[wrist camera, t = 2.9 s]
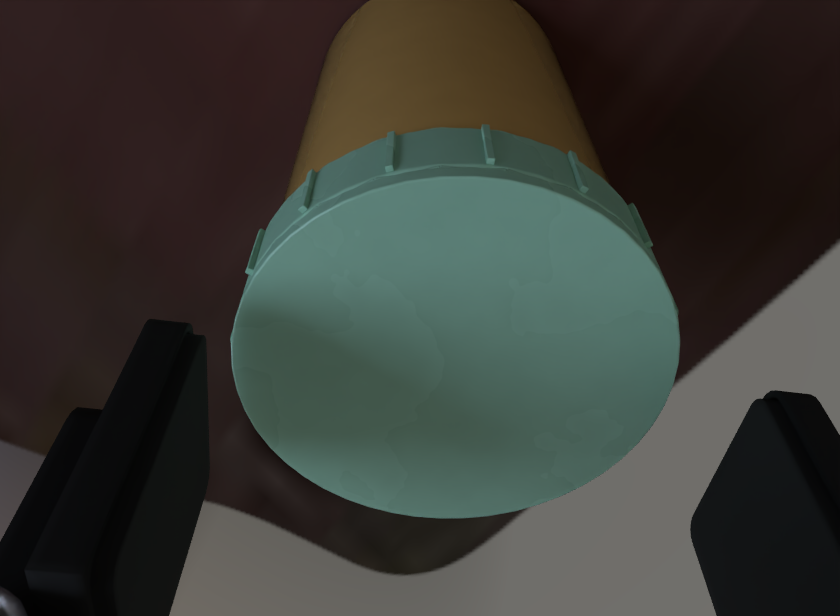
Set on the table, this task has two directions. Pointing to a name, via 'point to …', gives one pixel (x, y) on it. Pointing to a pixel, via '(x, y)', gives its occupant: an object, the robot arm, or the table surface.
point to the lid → (454, 325)
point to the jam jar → (439, 80)
